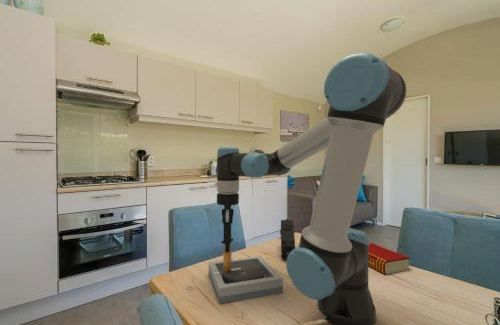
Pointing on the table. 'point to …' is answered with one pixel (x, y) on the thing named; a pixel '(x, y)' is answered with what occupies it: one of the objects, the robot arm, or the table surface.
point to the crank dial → (240, 270)
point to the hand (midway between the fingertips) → (227, 261)
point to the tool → (287, 237)
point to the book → (386, 260)
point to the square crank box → (245, 282)
